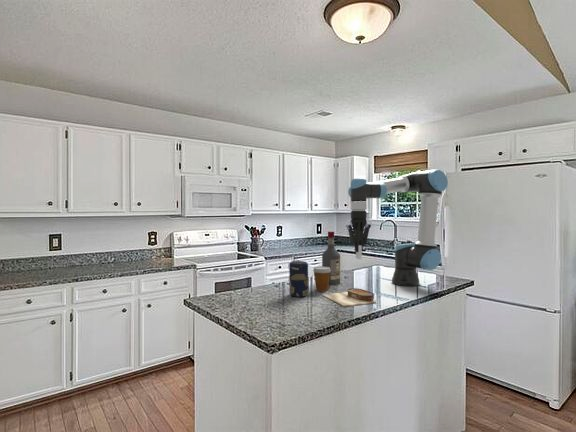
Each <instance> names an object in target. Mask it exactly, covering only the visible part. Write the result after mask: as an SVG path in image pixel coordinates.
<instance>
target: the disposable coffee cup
mask: <svg viewBox="0 0 576 432" xmlns="http://www.w3.org/2000/svg"><path fill="white" fill-rule="evenodd" d="M312 271H313V275H314V282H315V291H317V292H327V291H328V290H329V285H330V284H329V276H330V271H331V270H330V267H324V266H322V265H321V266H320V265H319V266H314V267H313V269H312Z"/></svg>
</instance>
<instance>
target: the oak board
mask: <svg viewBox="0 0 576 432" xmlns="http://www.w3.org/2000/svg"><path fill="white" fill-rule="evenodd" d="M322 296H323V297H325V298H326V299H328V300H330V301H332V302H334V303H336V304H338V305H340V306H342V307H343V308H347V307H354V306H355V307H356V306H363V305H370V304H371V305H372V304H377V301H376V300H374V299H373V300H368V301H363V300H359V299H356V298H353V297H351V296H349V295H348V291H343V292H336V293H325V294H322Z"/></svg>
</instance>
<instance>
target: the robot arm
mask: <svg viewBox="0 0 576 432" xmlns="http://www.w3.org/2000/svg"><path fill="white" fill-rule="evenodd" d="M447 188H448V177H447V175H446V174H445V172H443V170H440V169H430V170H423V171H421V170H420V171H415V172H414V171H413V172H411V173H408V174H403V175H399V177H398V178H396V177H395V178H391V179H385V180H378V181H373V182H367V178H362V177H361V178H353V179H351V181H350V187H348V192H347V193H348V196H349V197H350V210H351V211H350V222H349V224H347V225H346V226H345V227H346V229H347V233H348V235H349V240H350V243H351V245H354V252H355V258H356V259H357V260H362V259H363V257H362V253H363V251H364V246H365V245H366V244H367V243H368V242H367V241H368V237H369V233H370V228H371V227H372V224H370V223H368V221H367V211H366V210H367V209H368V208H367V207H368V205H367V199H383V198H385V197H386V196H387V194H392V193H393V194H394V193H397V192H401V193H412V192H413V193H418V195H419V196H420V197H421V199H420V210H419V211H420V212H419V220H418V230H417V231H418V233H417V240H416V241H415V242H414V243H402V244H396V245H395V248H394V272H393V276H392V277H391V283H392V284H394V285H397V286H400V287H401V286H403V287H415V286H416V287H417V286H419V285H420V278H419V275H418V272H417V269H421V270H423V271H425V270H426V271H433V270H436V269H437V267H439V265H440V263H441V261H442V254H441V251H440V250H439V249H438V245H437V244H436V242H435V241H436V231H437V230H436V228H437V220H438V219H437V218H438V217H437V215H438V205H439V199H440V198H441V197H442V195H443V191H445V190H446V189H447Z"/></svg>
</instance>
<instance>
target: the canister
mask: <svg viewBox="0 0 576 432" xmlns="http://www.w3.org/2000/svg"><path fill="white" fill-rule="evenodd" d="M308 263H309V262H307V261H304V260H303V261H302V260H299V259H298V260H295V261H290V262H289V271H288V274H289V284H288V285H289V288H288V289H289V295H290V296H292V297H298V298H299V297H306V296H308V295H309V264H308Z"/></svg>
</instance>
